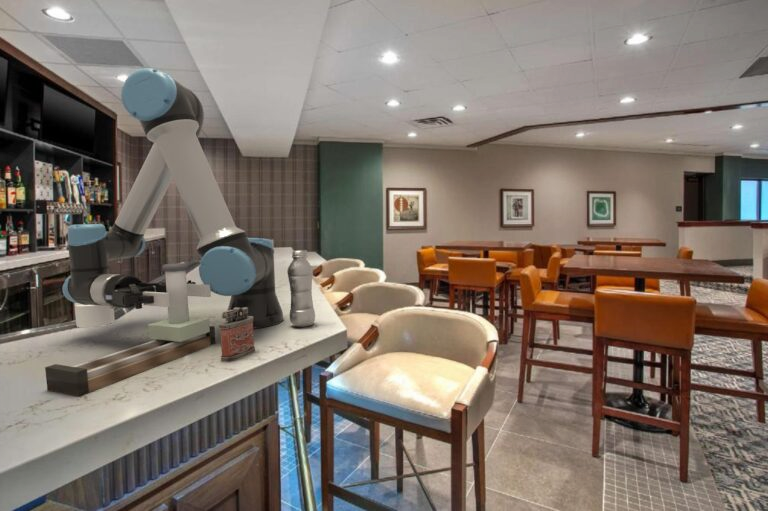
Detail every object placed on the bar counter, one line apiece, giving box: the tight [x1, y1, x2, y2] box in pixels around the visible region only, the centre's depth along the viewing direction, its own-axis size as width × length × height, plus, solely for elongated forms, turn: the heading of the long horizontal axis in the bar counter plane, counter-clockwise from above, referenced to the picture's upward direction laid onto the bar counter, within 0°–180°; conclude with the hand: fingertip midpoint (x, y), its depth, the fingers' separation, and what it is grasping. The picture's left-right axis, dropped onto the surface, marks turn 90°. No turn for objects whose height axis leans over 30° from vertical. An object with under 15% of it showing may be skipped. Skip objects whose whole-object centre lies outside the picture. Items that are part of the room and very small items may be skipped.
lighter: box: [218, 307, 256, 363], centre depth 85 cm, size 8×3×10 cm, turn 152°
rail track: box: [44, 325, 216, 397], centre depth 82 cm, size 30×8×4 cm, turn 159°
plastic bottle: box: [286, 249, 316, 328], centre depth 108 cm, size 6×7×20 cm
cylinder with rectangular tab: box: [73, 302, 116, 329], centre depth 117 cm, size 9×9×12 cm
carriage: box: [147, 262, 210, 342], centre depth 89 cm, size 8×9×16 cm
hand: (189, 295), depth 87 cm, fingers open, 10 cm apart
